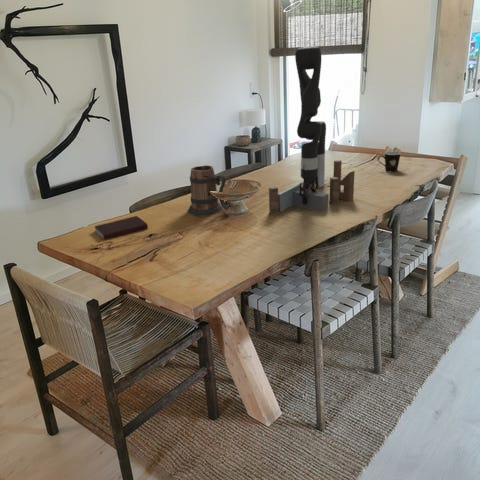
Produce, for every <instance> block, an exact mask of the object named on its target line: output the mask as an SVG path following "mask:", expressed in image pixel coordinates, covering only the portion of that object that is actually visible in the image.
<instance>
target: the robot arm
mask: <svg viewBox="0 0 480 480" xmlns="http://www.w3.org/2000/svg"><path fill="white" fill-rule="evenodd" d="M294 55H295V56H294V59H295V66H296V70H297V72H296V73H297V77H298V83H299V93H300V95H299V96H300V103H301V109H300V110H301V112H300V118H299V122H298V124H297V128H296V133H297V136H298V137H299V138H300V139H306V140H308V141H309V142H305V143H303V144H301V149H300V151H301V152H300V153H301V156H300V157H301V158H300V178H302V179H303V181H302V182H303V183H302V182H299V184H300V192H299V196H302V204H305V205H306V204H307V195H308V192H310V191H312V192H317V190H318V189H319V188H322V187H324V186H325V174H326V173H325V171H326V169H325V168H326V166H325V165H326V163H325V162H326V137H327V136H326V135H327V125H326V122H325V121H320V120H319V121H315V120H313V121H311V120H312V118H313V117H316V116H317V115H318V113H319V112H318V109H319V107H320V106H321V101H322V97H321V89H320V87H319V86H320V80H321V79H320V77H321V70H322V51H321V48H320V46H317V45H316V46H306V47H304V46H303V47H298V48H296V50H295V54H294ZM306 70H307V71H308V70H313V71H312V76H311V77H310V76H309V74H308V73H307V71H306Z"/></svg>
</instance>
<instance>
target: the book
mask: <svg viewBox="0 0 480 480" xmlns="http://www.w3.org/2000/svg"><path fill="white" fill-rule="evenodd" d="M148 227H149V225H148V223H147V222H146V221H144V220H143V219H141V218H140V217H139V216H138V215H134V216H130V217H126V218H122V219H118V220H115V221H110V222H107V223H102V224H98V225H96V226H94V228H95V230H94V232H95V233H96V234H98V235H99V236H100V237H101V238H102V239H103V240H105V241H106V240H109V239H113V238H116V237H121V236H125V235H129V234H133V233H137V232H140V231H145V230H148Z"/></svg>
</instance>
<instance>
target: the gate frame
mask: <svg viewBox="0 0 480 480" xmlns="http://www.w3.org/2000/svg"><path fill="white" fill-rule="evenodd" d="M278 194H279V188H278V187H277V186H269V187H268V204H269V209H268V210H269V214H270V213H271V214H270V215H272V216H274V214H275V215H279V212H278ZM339 200H340V199H339V178H337V177H333V176H332V177H330V178H329V201H328V204H329V203H330V204H331V205H336V204H339Z"/></svg>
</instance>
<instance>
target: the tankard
mask: <svg viewBox="0 0 480 480" xmlns="http://www.w3.org/2000/svg"><path fill="white" fill-rule="evenodd" d="M226 179H227V178H226V177H225V175H223V174H219V175H216V174H215V169H214V167H213V166H211V165H208V164H207V165H206V164H205V165H201V166H200V165H199V166H193V167H191V168H190V176H189V181H190V195H191V196H190V202H191V203H190V206H189V208H188V209H187V213H188V214H190V215H192V216H199V217H200V216H202V217H203V216H211V215H216V213H217V214H218V213H221V212H222V211H223V210H228V208H229V207H230V205H231V204H230V202H228V201H226V200H225V199H224V200H221V199H219V197H218V198H216V197H215V196H213V195H212V194H211V193H210V191H217V192H218V193H219V192H223V191H224V188H225V185H226V181H227V180H226ZM217 186H220V187H219V189H217ZM227 202H228V203H227ZM228 204H229V205H228ZM227 206H228V207H227ZM230 208H231V207H230ZM230 208H229V209H230Z"/></svg>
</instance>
